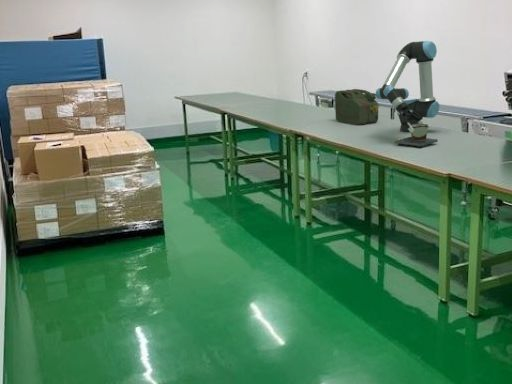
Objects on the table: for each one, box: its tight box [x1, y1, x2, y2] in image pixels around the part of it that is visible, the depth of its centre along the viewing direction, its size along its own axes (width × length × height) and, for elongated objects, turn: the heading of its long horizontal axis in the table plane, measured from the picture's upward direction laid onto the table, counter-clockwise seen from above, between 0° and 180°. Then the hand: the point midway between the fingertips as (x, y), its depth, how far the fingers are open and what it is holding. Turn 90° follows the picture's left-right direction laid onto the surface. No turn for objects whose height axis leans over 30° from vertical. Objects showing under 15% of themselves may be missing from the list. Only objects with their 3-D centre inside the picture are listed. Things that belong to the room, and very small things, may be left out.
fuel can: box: [334, 88, 379, 126], centre depth 453 cm, size 19×35×27 cm, turn 26°
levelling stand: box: [394, 136, 439, 149], centre depth 348 cm, size 18×20×4 cm
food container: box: [410, 123, 429, 141], centre depth 346 cm, size 12×6×10 cm, turn 102°
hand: (419, 130), depth 344 cm, fingers open, 13 cm apart
